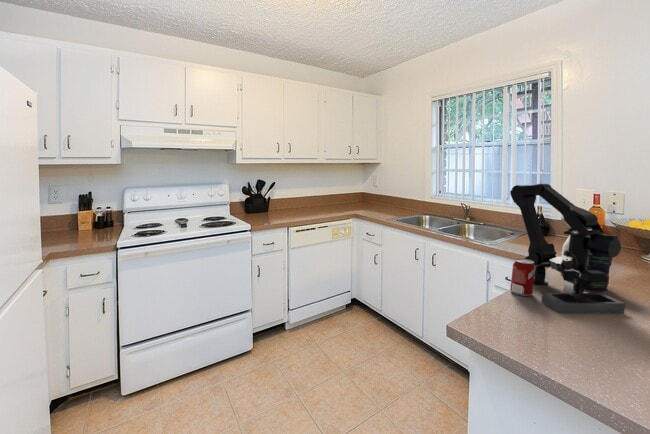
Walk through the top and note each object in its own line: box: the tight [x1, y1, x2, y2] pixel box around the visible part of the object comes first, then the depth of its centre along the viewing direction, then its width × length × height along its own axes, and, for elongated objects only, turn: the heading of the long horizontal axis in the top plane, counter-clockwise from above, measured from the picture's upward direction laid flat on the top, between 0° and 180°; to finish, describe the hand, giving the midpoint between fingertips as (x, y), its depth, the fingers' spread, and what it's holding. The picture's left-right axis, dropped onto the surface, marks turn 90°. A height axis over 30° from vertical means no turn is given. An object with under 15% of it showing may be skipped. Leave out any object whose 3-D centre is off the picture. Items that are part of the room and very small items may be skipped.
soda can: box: [509, 258, 536, 297], centre depth 111 cm, size 7×7×12 cm
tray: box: [541, 292, 626, 314], centre depth 100 cm, size 8×20×3 cm, turn 91°
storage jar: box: [575, 251, 613, 293], centre depth 117 cm, size 10×10×15 cm
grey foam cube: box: [562, 280, 585, 293], centre depth 109 cm, size 4×4×5 cm
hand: (573, 292), depth 110 cm, fingers closed on grey foam cube, 4 cm apart
